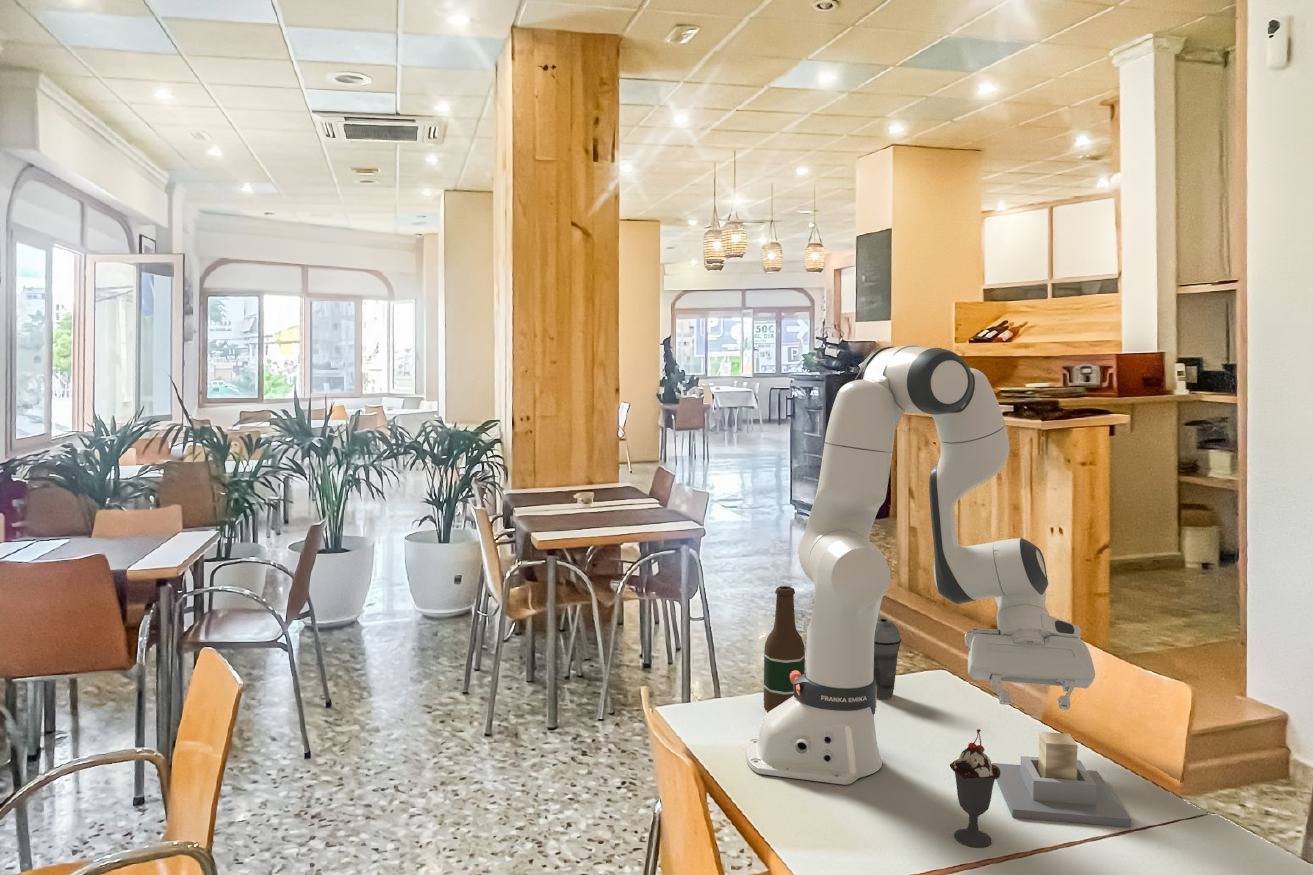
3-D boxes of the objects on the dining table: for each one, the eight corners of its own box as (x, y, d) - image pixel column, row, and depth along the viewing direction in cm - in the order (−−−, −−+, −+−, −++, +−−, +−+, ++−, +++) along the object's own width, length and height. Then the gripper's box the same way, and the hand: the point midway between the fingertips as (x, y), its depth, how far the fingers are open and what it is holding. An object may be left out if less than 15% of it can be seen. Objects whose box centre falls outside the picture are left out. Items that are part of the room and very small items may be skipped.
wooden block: (1044, 794, 136) (1046, 742, 135) (1037, 781, 140) (1039, 731, 140) (1075, 796, 135) (1077, 745, 134) (1067, 783, 139) (1069, 733, 139)
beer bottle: (782, 699, 179) (783, 580, 177) (812, 711, 173) (814, 588, 171) (755, 709, 174) (756, 586, 172) (785, 720, 168) (786, 594, 166)
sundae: (986, 825, 129) (989, 723, 128) (1006, 850, 122) (1009, 743, 121) (940, 826, 128) (943, 724, 127) (958, 851, 122) (960, 743, 121)
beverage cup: (901, 703, 177) (903, 603, 176) (863, 700, 178) (865, 601, 177) (898, 690, 184) (900, 594, 183) (862, 687, 186) (864, 592, 184)
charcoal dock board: (1012, 817, 131) (1013, 789, 131) (992, 769, 147) (992, 745, 147) (1130, 827, 128) (1131, 798, 128) (1096, 777, 144) (1097, 752, 144)
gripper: (966, 618, 158) (972, 691, 150) (1089, 627, 155) (1104, 702, 146) (961, 636, 163) (967, 708, 154) (1081, 645, 159) (1094, 719, 151)
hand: (1034, 705), depth 150 cm, fingers open, 8 cm apart
